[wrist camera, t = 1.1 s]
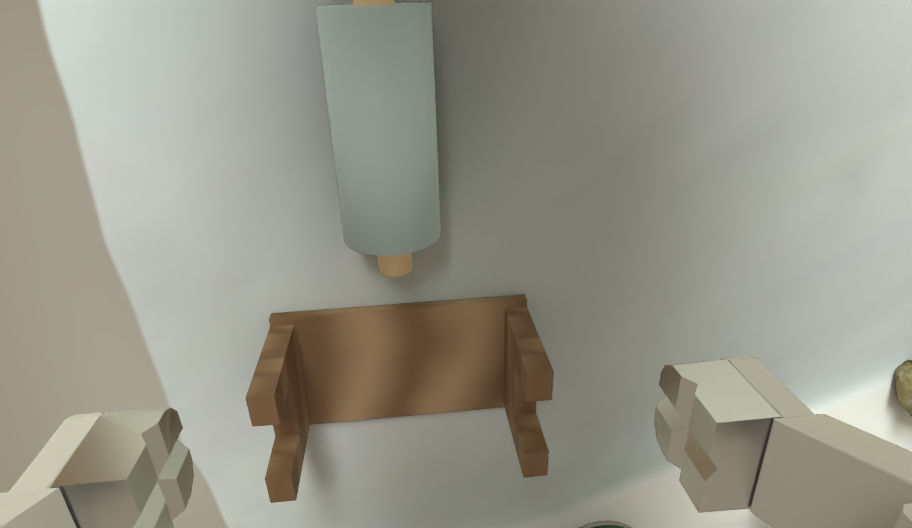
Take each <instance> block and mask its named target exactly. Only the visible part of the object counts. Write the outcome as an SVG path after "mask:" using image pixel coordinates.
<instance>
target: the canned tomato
mask: <svg viewBox="0 0 912 528" xmlns="http://www.w3.org/2000/svg"><path fill="white" fill-rule="evenodd" d="M580 528H631V527H629V526H627V525H625V524H622V523H619V522H612V521H602V522H595V523H591V524H588V525H585V526H583V527H580Z"/></svg>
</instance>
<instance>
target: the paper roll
mask: <svg viewBox="0 0 912 528" xmlns="http://www.w3.org/2000/svg"><path fill="white" fill-rule="evenodd" d="M315 8H316V16H317V24H318V32H319V40H320V48H321V56H322V64H323V72H324V80H325V88H326V96H327V104H328V112H329V120H330V129H331V137H332V145H333V153H334V161H335V169H336V177H337V185H338V193H339V201H340V209H341V217H342V225H343V233H344V241H345V243H346V245H347V246H348V247H349V248H351V249H352V250H355V251H357V252H360V253H364V254H369V255H377V258H378V268H379V273H380V274H382V275H384V276H388V277H399V276H404V275H406V274H408V273H410V272H411V271H412V269H413V264H412V253H413V252H416V251H420V250H422V249H425V248H427V247H429V246H431V245H433V244H434V243H435V242H437V241H438V239H439V238H440V236H441V222H440V198H439V174H438V150H437V126H436V101H435V77H434V53H433V29H432V4H431V3H428V2H395V0H353V4H338V5H325V6H317V7H315Z"/></svg>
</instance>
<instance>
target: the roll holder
mask: <svg viewBox="0 0 912 528" xmlns="http://www.w3.org/2000/svg"><path fill="white" fill-rule="evenodd" d="M269 322H270V329H269V332H268V335H267V338H266V340H265V343H264V346H263V349H262V352H261V355H260V358H259V361H258V364H257V367H256V369H255V372H254V375H253V378H252V381H251V384H250V387H249V390H248V393H247V395H246V402H247V406H248V410H249V414H250V419H251V423H252V426H264V425H273V427H274V432H275V436H276V437H275V441H274V445H273V449H272V453H271V457H270V461H269V465H268V469H267V473H266V477H265V481H266V485H267V489H268V493H269V497H270V502H271V503H273V502H283V501H293V500H296V498H297V492H298V487H299V481H300V476H301V470H302V464H303V459H304V453H305V448H306V442H307V437H308V431H309V426H310V424H321V423H333V422H344V421H355V420H366V419H377V418H388V417H399V416H411V415H422V414H433V413H444V412H455V411H466V410H477V409H489V408H500V407H505V410H506V413H507V417H508V421H509V425H510V428H511V432H512V436H513V440H514V443H515V447H516V451H517V455H518V458H519V462H520V466H521V470H522V473H523V477H533V476H543V475H547V470H548V454H549V451H548V448H547V445H546V442H545V439H544V436H543V433H542V430H541V427H540V424H539V421H538V418H537V415H536V401H543V400H552V389H553V373H554V372H553V369H552V367H551V365H550V362H549V360H548V357H547V355H546V352H545V350H544V348H543V345H542V343H541V340H540V338H539V336H538V333H537V331H536V328H535V326H534V324H533V321H532V319H531V316H530V314H529V312H528V309H527V300H526V297H525V295H514V296H500V297H487V298H473V299H460V300H446V301H433V302H420V303H406V304H393V305H379V306H366V307H352V308H339V309H325V310H312V311H298V312H285V313H271V316H270V319H269Z"/></svg>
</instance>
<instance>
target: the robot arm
mask: <svg viewBox="0 0 912 528" xmlns="http://www.w3.org/2000/svg"><path fill="white" fill-rule="evenodd" d="M659 385H660V387H661V388H662V390H663V391H664V393H665V394H666V395H665V396H664V397H663V398H662V400H661V401H660V402H659V403H658V404H657V405H656V410H655V419H654V423H655V430H656V437H657V440H658V443H659V446H660V448H661V450H662V452H663V454H664V456H665V457H666V459H667V461H669V462H671V463H672V464H674V465H676V466H677V467H679V468H681V473H680V479H679V481H680V483H681V484H682V486H683V488H684V489H685V491H686V493H687V494H688V496H689V498H690V499H691V501H692V503H693V504H694V506H695V507H696V509H697V511H698V512H712V511H724V510H737V509H749V508H751V509H750V511H751V512H752V513H753V514H755V515H756V516H757V517H759V518H760V519H761V520H763V521H764V522H766V523H767V524H768V525H770V526H771V527H772V528H912V452H911V451H909V450H907V449H904V448H902V447H900V446H897V445H895V444H893V443H890V442H888V441H886V440H883V439H881V438H879V437H876V436H874V435H872V434H869V433H867V432H865V431H862V430H860V429H858V428H855V427H853V426H851V425H848V424H846V423H844V422H841V421H839V420H837V419H835V418H832V417H830V416H828V415H825V414H817V415H814V414H813V413H812V412H811V411H810V410H809V409H808V408H807V407H806V406H805V405H804V404H803V403H802V402H801V401H800V400H799V399H798V398H797V397H796V396H795V395H794V394H793V393H792V392H791V391H790V390H789V389H788V388H787V387H786V386H785V385H784V384H783V383H782V382H781V381H780V380H779V379H778V378H777V377H776V376H775V375H774V374H773V373H772V372H771V371H770V370H769V369H768V368H766V367H765V366H764V365H763V364H762V363H761V362H760V361H759V360H758V359H757V358H754V357H752V356H741V357H733V358H724V359H721V360H715V361H704V362H693V363H682V364H671V365H665V366H664V368H663V370H662V372H661V376H660V382H659ZM182 428H183V427H182V424H181V421H180V418H179V415H178V412H177V411H176V410H174V409H172V408H156V409H143V410H142V409H141V410H127V411H111V412H107V413H105V412H99V413H87V414H75V415H73V416H71V417H69V418H66V420H65V421H64V422H63V423H62V424H61V426H60V427H59V428H58V430H57V431H56V432H55V434H54V435H53V436H52V437H51V439H50V440H49V441H48V442H47V444H46V445H45V446H44V448H43V449H42V450H41V451H40V453H39V454H38V455H37V456H36V458H35V459H34V460H33V462H32V463H31V464H30V465H29V467H28V468H27V469H26V471H25V472H24V473H23V474H22V476H21V477H20V479H19V480H18V481H17V482H16V484H15V485H14V486H13V487H12V489H11V490H10V491H9V492H6V493H0V528H174V525H173V523H172V520H173V519H174V518H175V517H177V516H178V515H179V514H180V513H181V512H182V511H184V510H185V509H186V506H187V503H188V501H189V498H190V495H191V491H192V484H193V477H194V473H193V461H192V457H191V454H190V450H189V449H188V448H187V447H186V446H184V445H183V444H182V443H181V442H179V441H178V440H177V439H178V437H179V435H180V432H181V430H182Z"/></svg>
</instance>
